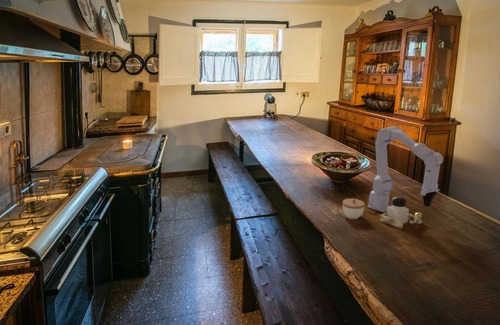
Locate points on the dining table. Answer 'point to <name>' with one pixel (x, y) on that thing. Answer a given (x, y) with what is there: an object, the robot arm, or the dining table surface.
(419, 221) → the pivot post
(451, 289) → the dining table surface
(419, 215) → the brass drawer handle
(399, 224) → the cradle
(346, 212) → the lidded jar
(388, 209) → the medicine bottle
